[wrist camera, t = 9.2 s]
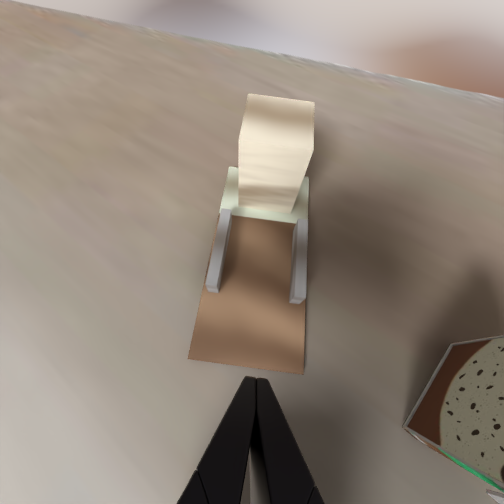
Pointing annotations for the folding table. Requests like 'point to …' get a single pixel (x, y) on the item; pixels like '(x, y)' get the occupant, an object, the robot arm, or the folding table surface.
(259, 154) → the block
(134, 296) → the folding table surface
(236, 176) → the chute
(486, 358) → the food container
